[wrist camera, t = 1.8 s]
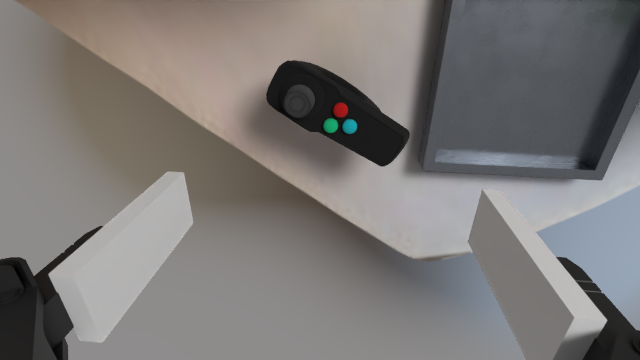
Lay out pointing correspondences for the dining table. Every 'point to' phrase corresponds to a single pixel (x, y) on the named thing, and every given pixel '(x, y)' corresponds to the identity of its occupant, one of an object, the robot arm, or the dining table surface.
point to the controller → (335, 111)
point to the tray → (532, 87)
